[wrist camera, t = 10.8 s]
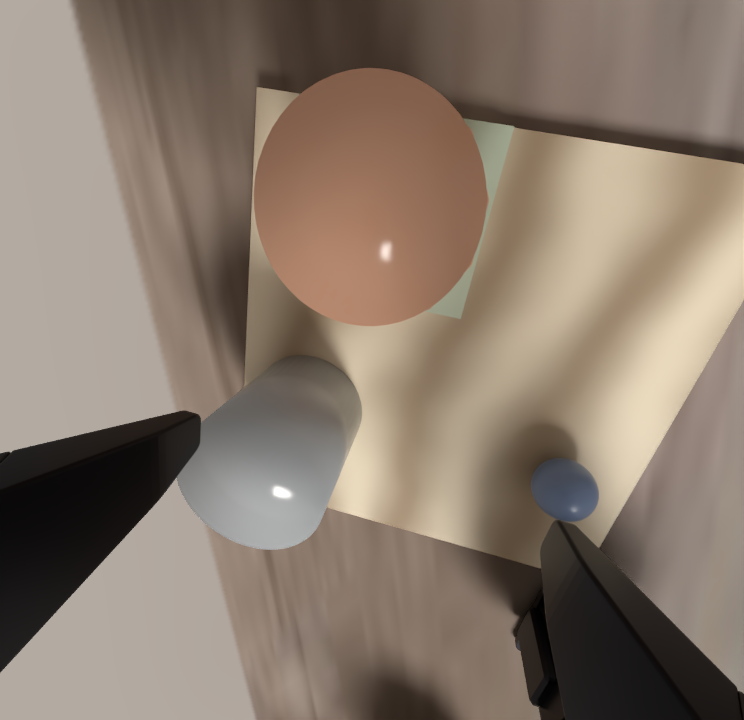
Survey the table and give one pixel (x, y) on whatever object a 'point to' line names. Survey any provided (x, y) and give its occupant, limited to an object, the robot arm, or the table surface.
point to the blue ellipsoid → (564, 489)
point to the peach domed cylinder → (370, 197)
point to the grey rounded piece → (274, 454)
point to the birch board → (528, 337)
